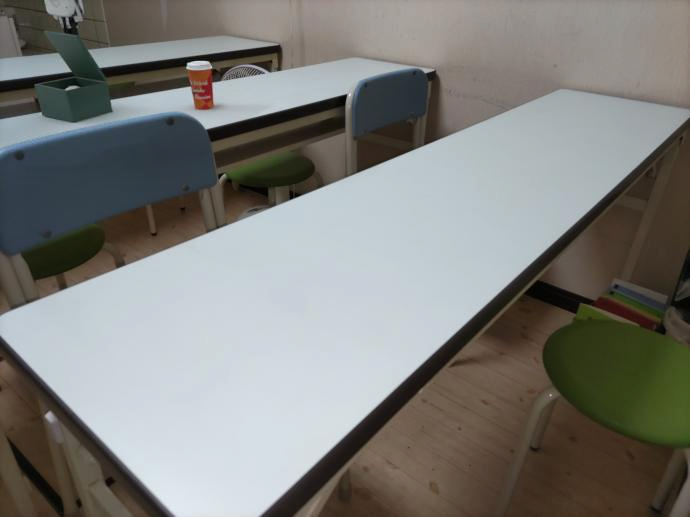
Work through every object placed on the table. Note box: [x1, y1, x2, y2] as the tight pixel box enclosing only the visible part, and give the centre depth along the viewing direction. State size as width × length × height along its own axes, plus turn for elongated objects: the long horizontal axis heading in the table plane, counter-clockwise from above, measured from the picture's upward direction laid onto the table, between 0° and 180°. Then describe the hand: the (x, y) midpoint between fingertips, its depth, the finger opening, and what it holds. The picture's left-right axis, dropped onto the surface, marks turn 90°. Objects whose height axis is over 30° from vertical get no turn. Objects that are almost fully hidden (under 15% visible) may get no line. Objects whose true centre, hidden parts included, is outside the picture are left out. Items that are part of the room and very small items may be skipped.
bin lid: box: [43, 30, 108, 83], centre depth 147 cm, size 14×14×1 cm
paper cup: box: [185, 60, 215, 111], centre depth 157 cm, size 8×8×14 cm
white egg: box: [65, 86, 80, 90], centre depth 149 cm, size 10×7×7 cm
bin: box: [33, 76, 114, 124], centre depth 150 cm, size 14×14×9 cm
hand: (73, 42), depth 145 cm, fingers closed
